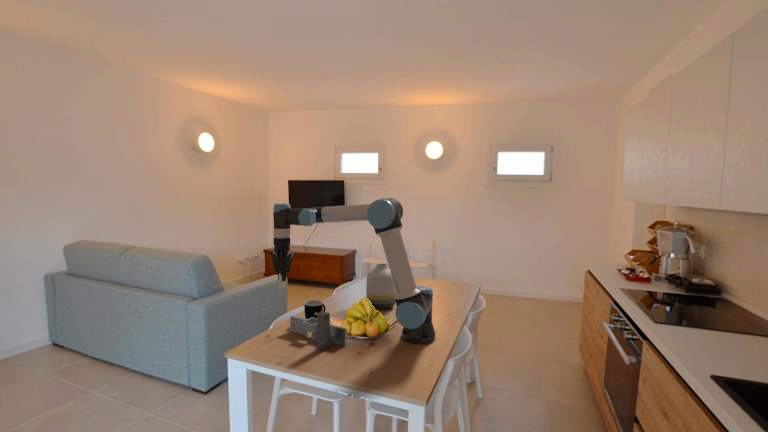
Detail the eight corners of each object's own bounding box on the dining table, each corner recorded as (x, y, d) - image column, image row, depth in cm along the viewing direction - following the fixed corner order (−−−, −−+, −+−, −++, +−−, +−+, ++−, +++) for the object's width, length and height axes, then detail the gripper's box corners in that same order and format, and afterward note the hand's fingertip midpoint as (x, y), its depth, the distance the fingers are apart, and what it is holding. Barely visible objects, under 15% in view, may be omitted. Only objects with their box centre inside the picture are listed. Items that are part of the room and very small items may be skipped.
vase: (390, 313, 192) (391, 269, 190) (361, 309, 197) (362, 266, 195) (399, 303, 208) (400, 263, 206) (372, 300, 213) (373, 260, 211)
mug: (312, 328, 170) (312, 307, 169) (300, 323, 176) (300, 303, 175) (331, 320, 180) (331, 301, 179) (319, 316, 185) (319, 297, 184)
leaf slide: (323, 335, 161) (323, 320, 161) (314, 341, 155) (314, 325, 155) (296, 328, 169) (296, 313, 168) (286, 333, 162) (286, 318, 162)
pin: (329, 348, 149) (329, 313, 148) (324, 351, 146) (324, 315, 145) (322, 346, 151) (322, 311, 150) (317, 349, 148) (317, 314, 147)
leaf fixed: (349, 343, 155) (349, 326, 154) (341, 348, 149) (341, 331, 148) (320, 335, 162) (320, 319, 161) (311, 340, 156) (311, 324, 156)
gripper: (298, 237, 165) (298, 287, 167) (277, 235, 171) (277, 283, 173) (287, 239, 158) (287, 291, 160) (265, 236, 164) (265, 287, 166)
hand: (282, 287), depth 166 cm, fingers closed
